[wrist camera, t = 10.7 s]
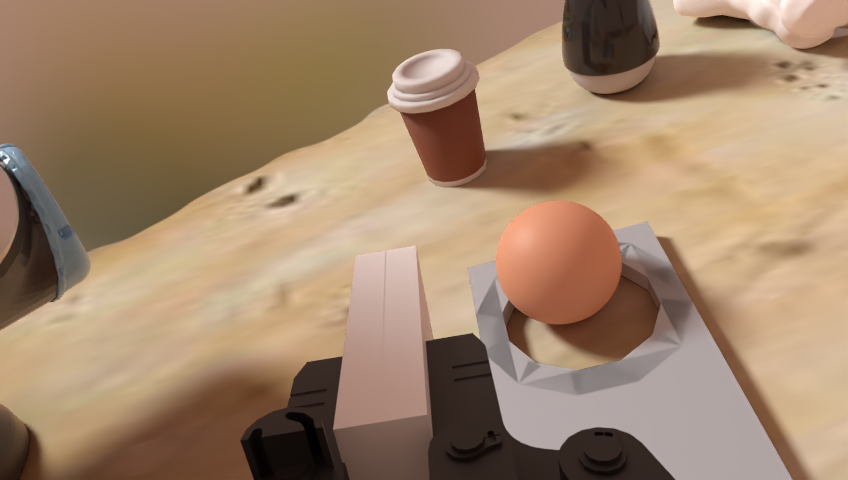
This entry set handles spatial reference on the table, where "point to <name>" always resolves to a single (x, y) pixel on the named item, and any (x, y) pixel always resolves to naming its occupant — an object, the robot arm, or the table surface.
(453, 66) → the coffee cup
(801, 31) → the torso sculpture
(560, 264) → the ball
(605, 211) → the table surface
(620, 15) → the black egg shaped figurine
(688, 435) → the board
